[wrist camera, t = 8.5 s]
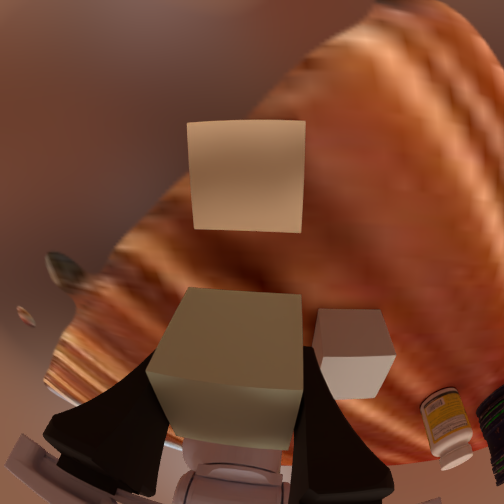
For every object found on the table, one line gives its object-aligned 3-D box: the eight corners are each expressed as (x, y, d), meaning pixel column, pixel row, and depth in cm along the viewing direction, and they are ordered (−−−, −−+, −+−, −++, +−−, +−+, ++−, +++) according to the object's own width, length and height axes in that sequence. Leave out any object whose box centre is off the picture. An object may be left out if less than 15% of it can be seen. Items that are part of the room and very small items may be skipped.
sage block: (291, 368, 14) (287, 450, 10) (201, 360, 15) (176, 435, 10) (301, 294, 12) (303, 390, 8) (188, 287, 12) (145, 370, 8)
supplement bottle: (447, 406, 26) (463, 464, 17) (413, 413, 27) (427, 477, 18) (463, 382, 24) (486, 445, 15) (428, 390, 24) (447, 460, 16)
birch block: (297, 201, 17) (301, 233, 13) (218, 199, 18) (194, 229, 13) (300, 120, 15) (305, 121, 10) (215, 120, 15) (187, 123, 11)
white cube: (365, 352, 22) (374, 397, 18) (310, 352, 23) (311, 399, 18) (380, 309, 20) (396, 355, 16) (318, 307, 21) (323, 356, 16)
